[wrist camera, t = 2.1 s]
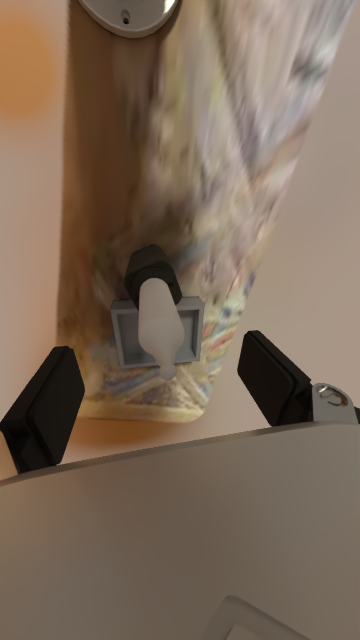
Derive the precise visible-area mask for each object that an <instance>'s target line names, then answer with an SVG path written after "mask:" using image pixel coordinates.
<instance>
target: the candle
mask: <svg viewBox="0 0 360 640" xmlns="http://www.w3.org/2000/svg"><path fill="white" fill-rule="evenodd" d="M124 286H125V288H126V290H127V292H128V294H129V295H130V297H131V299H132V301H133V303H134V305H135V306H136V308H137V310H138V311H139V328H138V338H139V342H140V345H141V347H142V348H143V349H144V350H145V351H146V352H147V353H149V354H151V355H153V357H154V358H155V360H156V362H157V363H158V365H159V366H160V369H159V375H160V376H161V378H163V379H165V380H171V379H172V378H174V377H175V375H176V371H177V370H176V367H175V366H174V361H175V356H176V352H177V350H178V349H179V348H180V346H181V345H182V344H183V341H184V335H185V332H184V328H183V325H182V322H181V320H180V317H179V314H178V312H177V309H176V306H175V305H177V304H178V303H179V302H180V301H181V298H182V293H181V290H180V287H179V284H178V282H177V279H176V276H175V274H174V271H173V269H172V267H171V265H170V263H169V261H168V260H167V258H166V256H165V255H164V253H163V251H162V250H161V248H160V247H159V246H158V245H150V246H148V247H145V248H143V249H141V250H138V251H136V252H134V253H133V254H132V255H131V258H130V261H129V265H128V268H127V272H126V275H125V278H124Z"/></svg>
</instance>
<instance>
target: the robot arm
mask: <svg viewBox="0 0 360 640" xmlns="http://www.w3.org/2000/svg"><path fill="white" fill-rule="evenodd" d="M78 1H79V3H80V4H81V6H82V7H83V8H84V9H85V10H86V11H87V12H88V13H89V15H90V16H91V17H92V18H93V19H94V20H95V21H97V22H98V23H99V24H100V25H102V26H103V27H104V28H105V29H107V30H109V31H111V32H113V33H115V34H117V35H119V36H123V37H127V38H142V37H145V36H147V35H150V34H153V33H154V32H155V31H157V30H158V29H159V28H161V27H162V26H163V25H164V24H165V22H166V21H167V20H168V19H169V17H170V16H171V15H172V13H173V11H174V9H175V7H176V5H177V3H178V1H179V0H78ZM124 22H128V24H125V23H124ZM237 371H238V375H239V376H240V378H241V380H242V381H243V383H244V384H245V386H246V388H247V389H248V391H249V393H250V394H251V396H252V397H253V399H254V400H255V402H256V404H257V405H258V407H259V409H260V410H261V411H262V413H263V415H264V417H265V418H266V419H267V421H268V423H269V424H270V425H271V426H272V427H270V428H264V429H258V430H252V431H246V432H240V433H234V434H228V435H223V436H217V437H211V438H205V439H200V440H194V441H188V442H182V443H176V444H171V445H165V446H159V447H153V448H148V449H142V450H137V451H131V452H126V453H120V454H115V455H110V456H103V457H98V458H92V459H87V460H82V461H77V462H72V463H67V464H62V465H57V464H59V463H60V462H61V461H62V458H63V455H64V452H65V449H66V446H67V443H68V440H69V437H70V434H71V431H72V428H73V426H74V422H75V420H76V417H77V414H78V411H79V408H80V405H81V402H82V399H83V396H84V393H85V387H84V383H83V380H82V377H81V373H80V370H79V367H78V363H77V360H76V357H75V353H74V350H73V349H72V348H69V347H68V346H59V347H54V348H53V349H52V351H51V352H50V354H49V355H48V356H47V358H46V359H45V361H44V362H43V363H42V365H41V366H40V368H39V369H38V371H37V372H36V373H35V375H34V376H33V377H32V379H31V380H30V381H29V383H28V384H27V386H26V387H25V389H24V390H23V391H22V392H21V394H20V395H19V397H18V398H17V400H16V401H15V402H14V404H13V405H12V407H11V408H10V410H9V411H8V412H7V414H6V415H5V416H4V418H3V419H2V421H1V422H0V640H360V409H359V408H356V407H354V406H353V402H352V401H351V399H350V398H349V396H348V395H347V394H345V393H344V392H343V391H342V390H340V389H338V388H336V387H334V386H332V385H329V384H325V383H317V384H315V385H312V384H311V383H310V381H311V379H310V378H309V377H308V376H307V375H306V374H305V373H304V372H302V371H301V370H300V369H299V368H298V367H297V366H296V365H295V364H294V363H293V362H292V361H291V360H290V359H289V358H288V357H287V356H285V355H284V354H283V353H282V352H281V351H280V350H279V349H278V348H277V347H276V346H275V345H274V344H273V343H272V342H271V341H270V340H268V339H267V338H266V337H265V336H264V335H263V334H262V333H261V332H260V331H258V330H255V331H248V332H247V334H245V335H244V339H243V344H242V349H241V353H240V358H239V364H238V368H237ZM56 465H57V466H56Z"/></svg>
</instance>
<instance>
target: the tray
mask: <svg viewBox="0 0 360 640" xmlns="http://www.w3.org/2000/svg"><path fill="white" fill-rule="evenodd" d="M175 306H176V309H177V312H178V314H179V317H180V320H181V322H182V325H183V328H184V332H185V335H184V341H183V344H182V345H181V346H180V348H179V349H178V350H177V352H176V356H175V361H174V363H184V362H193V361H200V351H201V339H202V328H203V316H204V303H203V302H202V301H201V299H200V298H199V296H197V297H182V298H181V301H180V302H179V303H178V304H177V305H175ZM110 311H111V317H112V323H113V328H114V334H115V340H116V346H117V351H118V357H119V363H120V369H127V368H136V367H146V366H155V365H158V363H157V362H156V360H155V358H154V357H153V355H151V354H149V353H147V352H146V351H145V350H144V349H143V348H142V347H141V345H140V342H139V338H138V328H139V311H138V310H137V308H136V306H135V305H134V303H133V301H132V300H115V301H113V304H112V306H111V309H110Z"/></svg>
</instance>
